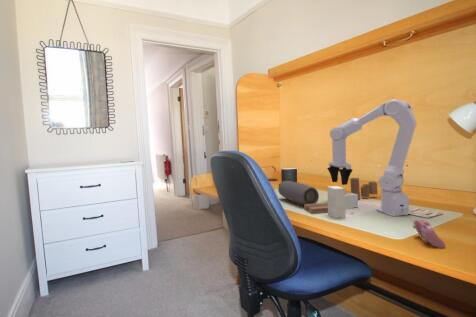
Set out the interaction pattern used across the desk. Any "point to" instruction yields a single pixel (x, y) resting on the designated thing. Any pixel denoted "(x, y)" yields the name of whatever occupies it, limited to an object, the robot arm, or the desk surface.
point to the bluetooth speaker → (298, 192)
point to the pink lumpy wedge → (428, 233)
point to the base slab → (316, 208)
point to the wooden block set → (363, 188)
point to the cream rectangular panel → (349, 213)
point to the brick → (351, 200)
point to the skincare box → (336, 202)
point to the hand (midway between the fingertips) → (339, 183)
